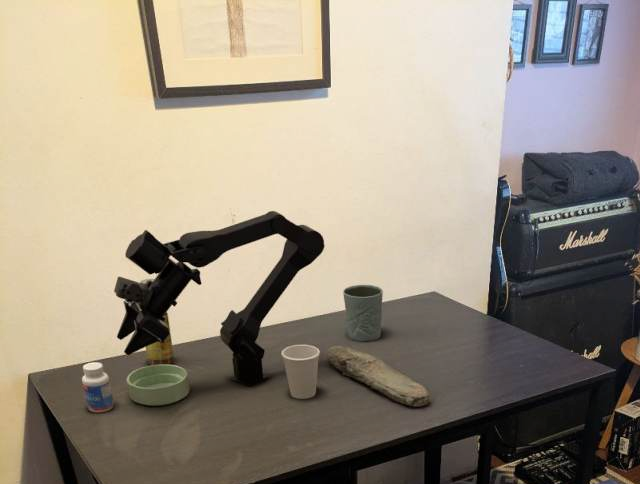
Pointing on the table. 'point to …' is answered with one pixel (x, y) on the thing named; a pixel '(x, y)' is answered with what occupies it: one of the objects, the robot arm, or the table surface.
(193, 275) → the robot arm
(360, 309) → the green ceramic cup
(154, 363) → the sauce bottle
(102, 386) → the pill bottle
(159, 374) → the bowl
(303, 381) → the dixie cup
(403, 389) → the long grey stone
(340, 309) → the table surface
